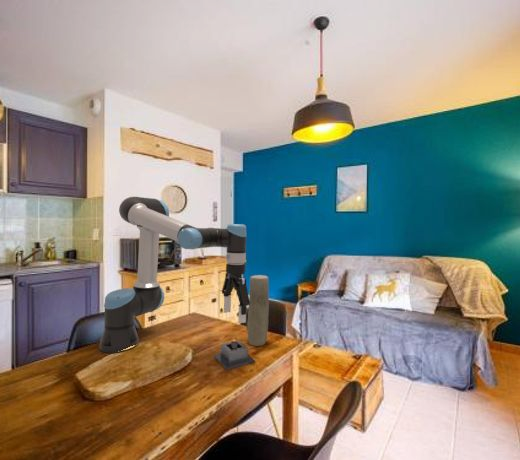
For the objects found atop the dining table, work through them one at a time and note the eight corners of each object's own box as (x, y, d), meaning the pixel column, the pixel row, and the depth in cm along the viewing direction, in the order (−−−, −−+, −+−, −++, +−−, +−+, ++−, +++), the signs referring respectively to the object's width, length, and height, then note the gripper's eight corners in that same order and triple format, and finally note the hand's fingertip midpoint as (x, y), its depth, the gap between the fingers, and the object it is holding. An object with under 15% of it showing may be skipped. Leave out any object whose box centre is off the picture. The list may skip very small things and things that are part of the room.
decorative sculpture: (235, 343, 126) (236, 276, 125) (244, 335, 135) (245, 273, 134) (263, 348, 121) (264, 279, 120) (271, 340, 130) (272, 275, 129)
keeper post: (214, 356, 113) (214, 336, 113) (240, 350, 119) (241, 331, 119) (226, 370, 102) (226, 348, 102) (254, 362, 109) (255, 341, 108)
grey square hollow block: (220, 355, 112) (220, 344, 112) (238, 351, 116) (238, 340, 116) (228, 364, 105) (229, 352, 105) (247, 359, 109) (247, 347, 109)
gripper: (215, 259, 119) (213, 309, 119) (241, 268, 97) (239, 329, 98) (231, 259, 123) (229, 307, 123) (260, 267, 101) (258, 325, 102)
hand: (234, 317), depth 111 cm, fingers open, 13 cm apart
